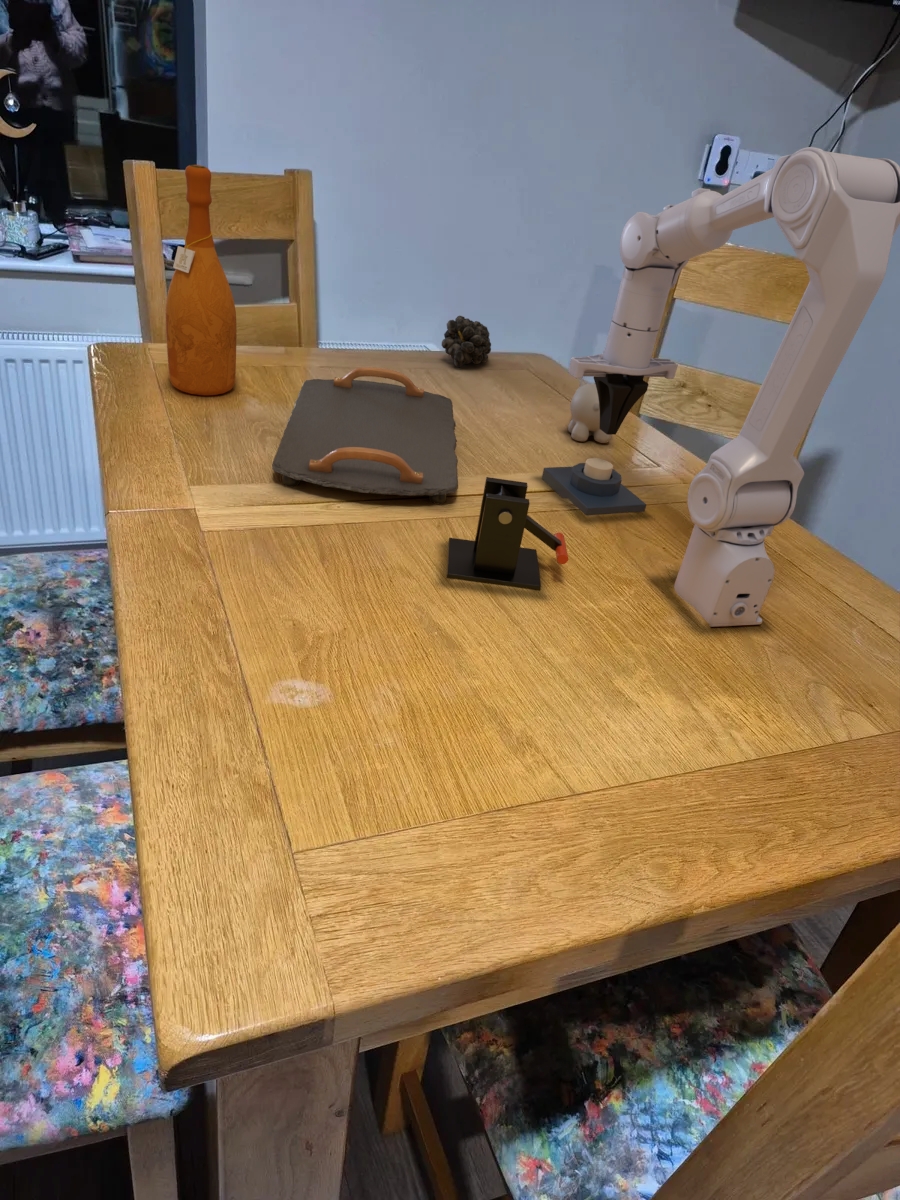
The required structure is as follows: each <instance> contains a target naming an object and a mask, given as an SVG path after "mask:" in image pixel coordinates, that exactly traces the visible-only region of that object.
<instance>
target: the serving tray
mask: <svg viewBox="0 0 900 1200" xmlns="http://www.w3.org/2000/svg"><path fill="white" fill-rule="evenodd" d="M360 377H375V378H380V379H381V378H382V379H388V380H391V381H396V382H398V383H401V384H402V385H403V386H402V385H398V384H393V383H387V382H378V381H373V380H370V381H369V380H358V379H357V378H360ZM453 407H454V405H453V401H452V399H451V398H449V397H446V396H445V395H441V394H437V393H432V392H428V391H425V388H420V387H417V386H416V385H415V383H414V382H413V381H412V379H410V377H408V375H406V374H404V373H402V372H399V371H397V370H394V369H390V368H385V367H384V368H383V367H376V366H361V367H356V368H354V369H352V370H350V371H349V372H348V373H346V374H345V375H344V376H342V377H334V378H333V379H322V378H313V379H306V380H305V381H304V382H303V383H302V386H301V389H300V390H299V392H298V396H297V399H295V403H294V407H293V409H292V410H291V413H290V416H289V418H288V420H287V423H286V427H285V429H284V430H283V435H282V437H281V439H280V442H279V445H278V447H277V450H276V454H275V455H274V458H273V461H272V464H271V469H272V471H273V472H275V473H278V474H280V475H282V476H281V483H282V485H284V486H286V487H290V488H291V487H297V486H299V485H300V481H303V482H307V483H308V484H309V483H310V484H313V485H316V486H321V487H327V488H332V489H333V488H334V489H338V490H344V491H345V490H346V491H349V492H354V493H362V494H370V495H386V496H387V495H393V496H407V497H408V496H409V497H410V496H413V497H414V496H428V500H429V501H430V502H431V503H433V504H437V505H442V504H445V503H446V501H447V495H448V494H454V493H456V492H458V489H459V476H458V463H459V460H458V456H457V455H456V448H457V442H458V440H457V436H456V433H455V430H456V426H457V424H456V420H455V419H454V409H453Z"/></svg>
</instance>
